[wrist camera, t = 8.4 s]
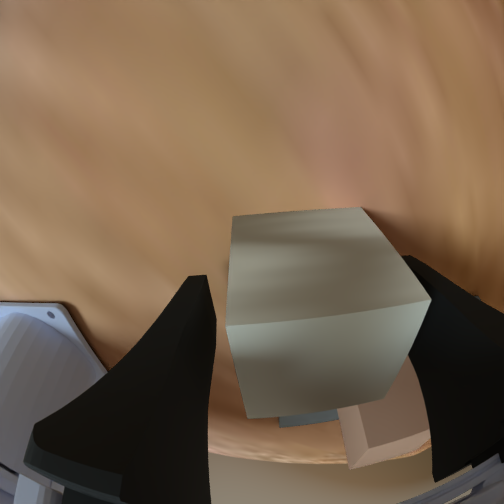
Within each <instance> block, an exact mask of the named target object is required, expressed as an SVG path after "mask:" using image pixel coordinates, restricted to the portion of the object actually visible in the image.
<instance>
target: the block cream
mask: <svg viewBox="0 0 504 504" xmlns="http://www.w3.org/2000/svg"><path fill="white" fill-rule="evenodd" d="M430 302H431V298H430V296H429V295H428V294H427V292H426V291H425V289H424V288H423V286H422V285H421V283H420V282H419V281H418V279H417V278H416V276H415V275H414V274H413V272H412V271H411V269H410V268H409V267H408V265H407V264H406V263H405V261H404V260H403V259H402V257H401V256H400V255H399V253H398V252H397V251H396V250H395V248H394V247H393V246H392V244H391V243H390V242H389V241H388V239H387V238H386V237H385V236H384V234H383V233H382V232H381V231H380V229H379V228H378V227H377V226H376V225H375V223H374V222H373V221H372V220H371V219H370V217H369V216H368V215H367V214H366V213H365V212H364V210H363V209H362V208H361V207H352V208H335V209H319V210H304V211H290V212H277V213H265V214H253V215H242V216H233V219H232V233H231V246H230V260H229V275H228V290H227V307H226V324H225V327H226V331H227V336H228V340H229V344H230V349H231V353H232V357H233V362H234V366H235V370H236V374H237V378H238V383H239V387H240V391H241V395H242V399H243V403H244V407H245V410H246V414H247V418H248V419H255V418H269V417H281V416H291V415H299V414H307V413H314V412H321V411H327V410H333V409H339V408H344V407H349V406H354V405H359V404H364V403H368V402H372V401H377V400H381V399H384V398H385V396H386V394H387V392H388V391H389V389H390V387H391V385H392V384H393V382H394V380H395V378H396V376H397V374H398V373H399V371H400V369H401V367H402V365H403V363H404V361H405V359H406V357H407V355H408V353H409V351H410V349H411V347H412V344H413V342H414V340H415V338H416V336H417V333H418V331H419V329H420V327H421V324H422V322H423V319H424V317H425V315H426V312H427V310H428V307H429V305H430Z"/></svg>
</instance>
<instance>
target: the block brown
mask: <svg viewBox="0 0 504 504" xmlns="http://www.w3.org/2000/svg"><path fill="white" fill-rule="evenodd" d="M337 412H338V416H339V421H340V425H341V430H342V435H343V440H344V445H345V450H346V455H347V460H348V465H349V469H354V468H358V467H362V466H366V465H370V464H374V463H378V462H381V461H385V460H388V459H391V458H394V457H397V456H400V455H403V454H406V453H409V452H412V451H414V450H417V449H418V448H419V447H420V446H422V445H423V444H424V443H425V442H426V441H427V440H429V439H430V438H431V436H430V429H429V422H428V417H427V412H426V407H425V402H424V398H423V395H422V391H421V387H420V384H419V380H418V378H417V375H416V372H415V370H414V368H413V365H412V363H411V361H410V359H409V356H408V355H407V357H406V359H405V361H404V363H403V365H402V367H401V369H400V371H399V373H398V374H397V376H396V378H395V380H394V382H393V384H392V385H391V387H390V389H389V391H388V392H387V394H386V396H385V398H384V399H381V400H377V401H372V402H368V403H364V404H359V405H354V406H349V407H344V408H339V409H337Z"/></svg>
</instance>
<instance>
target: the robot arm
mask: <svg viewBox="0 0 504 504" xmlns="http://www.w3.org/2000/svg"><path fill="white" fill-rule="evenodd" d="M401 257H402V259H403V260H404V261H405V263H406V264H407V265H408V267H409V268H410V269H411V271H412V272H413V274H414V275H415V276H416V278H417V279H418V281H419V282H420V283H421V285H422V286H423V288H424V289H425V291H426V292H427V294H428V295H429V296H430V298H431V302H430V305H429V307H428V310H427V312H426V315H425V317H424V319H423V322H422V324H421V327H420V329H419V331H418V333H417V336H416V338H415V340H414V342H413V344H412V347H411V349H410V351H409V353H408V356H409V359H410V361H411V363H412V365H413V368H414V370H415V372H416V375H417V378H418V380H419V384H420V387H421V391H422V395H423V398H424V402H425V407H426V412H427V417H428V422H429V429H430V436H431V445H432V474H433V478H434V481H435V482H438V481H440V480H442V479H444V478H446V477H448V476H450V475H452V474H454V473H456V472H458V471H460V470H462V469H464V468H465V467H467V466H469V465H472V468H473V469H471V470H470V471H468V472H466V473H464V474H463V475H461V476H459V477H457V478H455V479H453V480H451V481H449V482H447V483H445V484H443V485H441V486H439V487H437V488H435V489H432V490H430V491H428V492H426V493H423V494H421V495H418V496H416V497H414V498H411V499H408V500H406V501H403V502H400V503H398V504H444V503H446V502H448V501H450V500H452V499H453V498H455V497H457V496H459V495H461V494H463V493H464V492H466V491H468V490H469V489H471V488H472V491H471V493H470V494H469V495H467V496H464V497H462V498H460V499H458V500H455V501H454V502H451V503H449V504H504V314H503V313H501V312H500V311H498V310H496V309H494V308H492V307H491V306H489V305H487V304H485V303H484V302H482V301H480V300H479V299H477V298H476V297H474V296H473V295H471V294H469V293H468V292H466V291H465V290H463V289H462V288H460V287H459V286H457V285H456V284H454V283H453V282H451V281H450V280H448V279H447V278H446V277H444V276H443V275H441V274H440V273H438V272H437V271H435V270H434V269H432V268H431V267H429V266H428V265H426V264H424V263H423V262H421V261H420V260H418V259H416V258H414V257H412V256H410V255H408V256H401ZM216 322H217V319H216V314H215V310H214V306H213V302H212V297H211V293H210V289H209V284H208V280H207V275H196V276H188V277H187V279H186V280H185V281H184V283H183V284H182V285H181V287H180V288H179V290H178V291H177V292H176V294H175V295H174V297H173V298H172V299H171V301H170V302H169V304H168V305H167V306H166V308H165V309H164V310H163V312H162V313H161V314H160V316H159V317H158V318H157V319H156V321H155V322H154V323H153V325H152V326H151V327H150V328H149V329H148V331H147V332H146V333H145V334H144V335H143V337H142V338H141V339H140V340H139V341H138V343H137V344H136V345H135V346H134V347H133V348H132V349H131V350H130V351H129V352H128V353H127V354H126V355H125V356H124V357H123V358H122V359H121V360H120V361H119V362H118V363H117V364H116V365H115V366H114V367H113V368H112V369H111V370H110V371H109V372H107V370H106V369H105V368H104V366H103V365H102V364H101V362H100V361H99V359H98V358H97V357H96V355H95V354H94V352H93V351H92V349H91V348H90V346H89V345H88V343H87V342H86V340H85V339H84V337H83V336H82V334H81V332H80V331H79V329H78V328H77V326H76V324H75V323H74V321H73V319H72V318H71V316H70V314H69V313H68V311H67V309H66V308H65V307H64V306H63V305H61V304H58V303H11V302H0V504H211V496H210V484H209V467H208V403H209V394H210V386H211V379H212V371H213V364H214V357H215V349H216Z"/></svg>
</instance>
